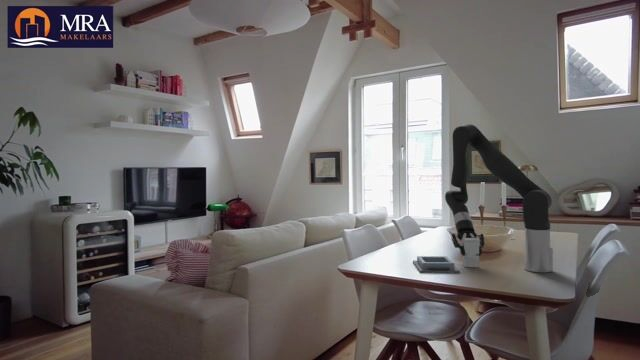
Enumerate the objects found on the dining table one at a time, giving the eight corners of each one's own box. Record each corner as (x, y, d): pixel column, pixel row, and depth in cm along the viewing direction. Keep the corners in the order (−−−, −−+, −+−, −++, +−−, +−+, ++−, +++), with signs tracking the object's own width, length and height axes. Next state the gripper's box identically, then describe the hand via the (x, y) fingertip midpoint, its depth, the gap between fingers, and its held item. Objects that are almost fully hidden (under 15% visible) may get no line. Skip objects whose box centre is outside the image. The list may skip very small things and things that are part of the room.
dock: (448, 262, 170) (448, 255, 170) (460, 273, 152) (459, 264, 152) (412, 262, 172) (412, 255, 172) (420, 272, 154) (419, 264, 154)
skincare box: (465, 267, 162) (464, 239, 161) (462, 264, 166) (461, 237, 166) (479, 267, 161) (479, 239, 161) (476, 265, 166) (476, 237, 165)
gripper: (449, 219, 171) (456, 250, 160) (481, 218, 170) (491, 250, 159) (446, 228, 177) (453, 259, 165) (477, 228, 176) (487, 259, 164)
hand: (472, 254), depth 162 cm, fingers closed on skincare box, 6 cm apart
